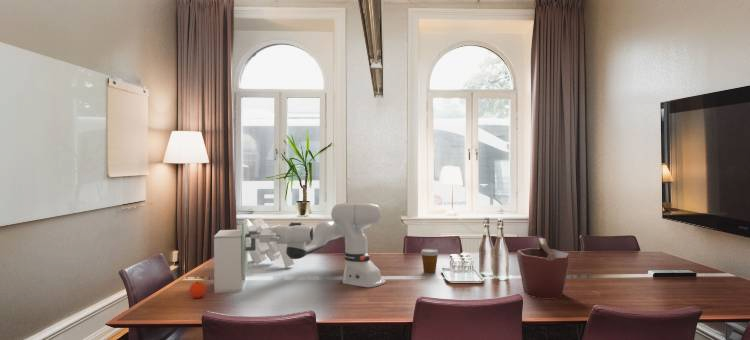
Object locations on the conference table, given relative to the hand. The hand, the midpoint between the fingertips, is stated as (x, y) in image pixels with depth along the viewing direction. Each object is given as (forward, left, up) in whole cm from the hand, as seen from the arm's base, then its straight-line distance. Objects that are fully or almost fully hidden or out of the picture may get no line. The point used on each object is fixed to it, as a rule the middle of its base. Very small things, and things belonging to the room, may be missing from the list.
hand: (250, 235), depth 210 cm
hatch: (0, 0, -17) cm, 17 cm away
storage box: (+6, +7, -24) cm, 26 cm away
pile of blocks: (+30, -29, -25) cm, 48 cm away
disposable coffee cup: (-52, -78, -25) cm, 97 cm away
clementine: (+2, +25, -25) cm, 35 cm away
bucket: (-112, -79, -25) cm, 139 cm away
